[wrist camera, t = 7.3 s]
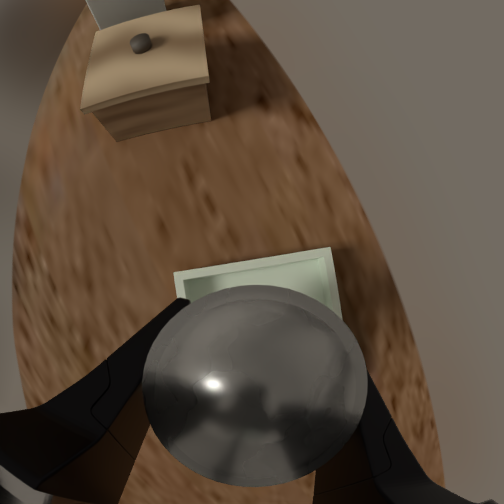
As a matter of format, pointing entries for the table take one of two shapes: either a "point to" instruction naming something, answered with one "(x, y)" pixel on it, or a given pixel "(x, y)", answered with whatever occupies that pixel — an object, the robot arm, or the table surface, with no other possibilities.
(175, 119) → the lidded bin
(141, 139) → the table surface
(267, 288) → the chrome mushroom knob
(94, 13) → the supplement box
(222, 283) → the tray
